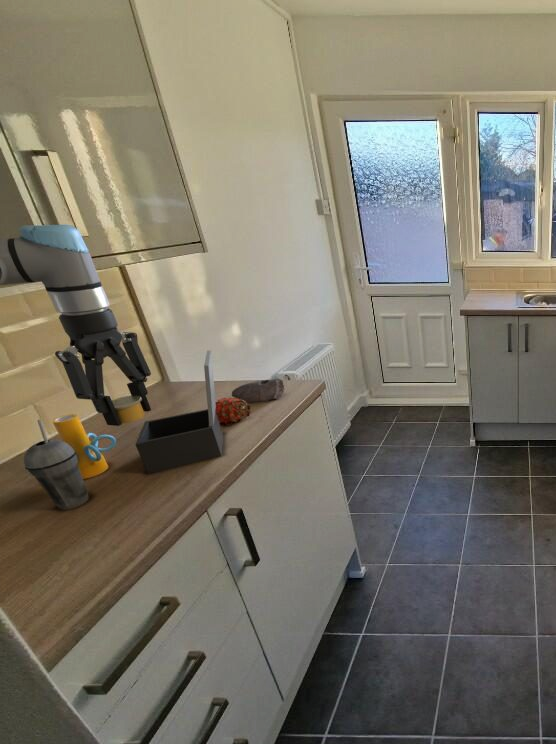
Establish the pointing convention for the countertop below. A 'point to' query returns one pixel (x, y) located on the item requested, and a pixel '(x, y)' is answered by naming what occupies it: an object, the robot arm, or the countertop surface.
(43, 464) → the beverage cup
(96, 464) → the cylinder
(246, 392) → the perforated stone tool
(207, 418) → the dark grey storage bin
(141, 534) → the countertop surface
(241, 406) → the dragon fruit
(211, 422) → the pod lid
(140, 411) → the coffee pod
